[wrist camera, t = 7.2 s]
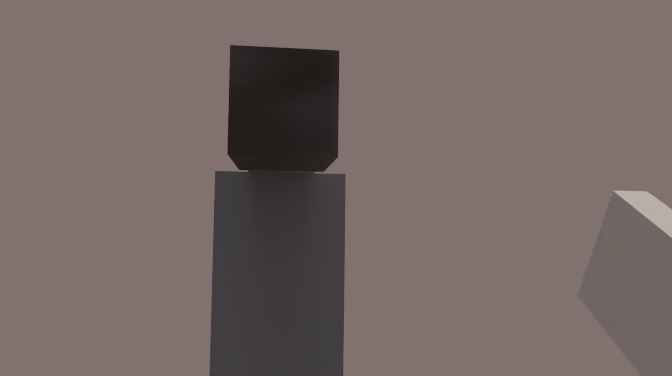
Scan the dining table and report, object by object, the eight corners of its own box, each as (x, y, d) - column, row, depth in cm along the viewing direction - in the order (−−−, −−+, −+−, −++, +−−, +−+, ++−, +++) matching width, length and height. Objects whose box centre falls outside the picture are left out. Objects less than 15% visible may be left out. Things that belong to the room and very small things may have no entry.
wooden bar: (227, 154, 16) (230, 45, 16) (258, 195, 42) (259, 153, 42) (337, 157, 16) (339, 50, 16) (300, 195, 42) (301, 154, 42)
